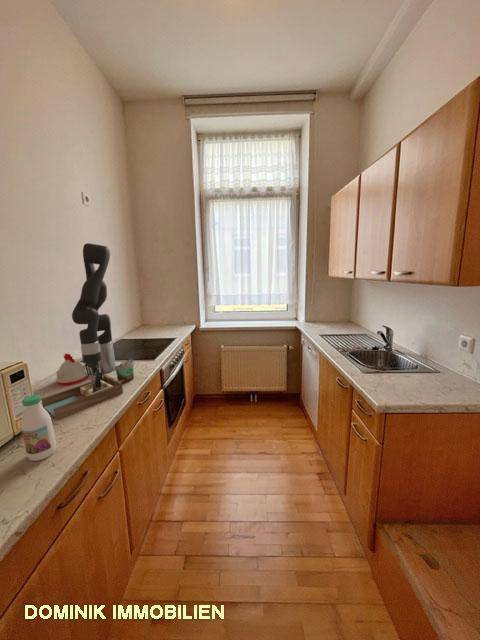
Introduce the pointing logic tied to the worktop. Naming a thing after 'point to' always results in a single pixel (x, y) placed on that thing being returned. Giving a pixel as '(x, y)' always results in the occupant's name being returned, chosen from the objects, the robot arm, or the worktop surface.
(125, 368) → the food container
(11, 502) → the worktop surface
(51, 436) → the milk bottle
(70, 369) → the kitchen timer
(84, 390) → the grey beige boxy piece
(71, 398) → the bay
